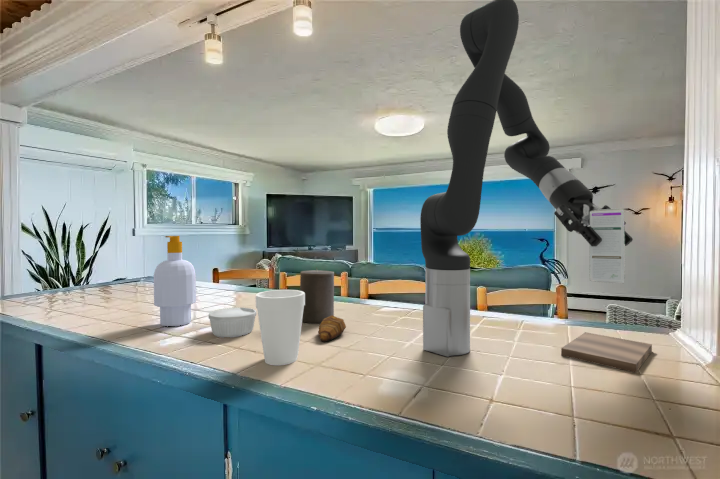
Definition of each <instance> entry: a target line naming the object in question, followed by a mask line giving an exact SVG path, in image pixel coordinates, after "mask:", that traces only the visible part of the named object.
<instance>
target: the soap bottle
mask: <svg viewBox="0 0 720 479" xmlns="http://www.w3.org/2000/svg"><path fill="white" fill-rule="evenodd" d="M164 237H165V238H169V241H167V243H166V245H167V246H166V247H167V252H166V253H167V259H166V260H163V261H161V262H160V263H158V264H157V266H156V268H155V269H154V273H153V305H154V307H158V308H159V323H160V326H162V327H165V326H167V328H169V327H168V326H175V327H180V325H181V326H185V325H188V324H189V323H191V321H192V306H191V305H192V304H195V303H197V283H196V282H197V281H196V278H197V277H196V276H197V274H196V270H195V267H194V264H192V263H191V261H188V260H186V259H183V241H180V240H181V239H180V235H165V236H164Z"/></svg>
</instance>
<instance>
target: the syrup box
mask: <svg viewBox="0 0 720 479" xmlns="http://www.w3.org/2000/svg"><path fill="white" fill-rule="evenodd" d="M624 221H625V211H624V209H622V208H621V209H620V208H611V209H602V210H594V211H590V225H589V226H591V227H592V229H593V230H594V231H595V232H596V233H597V234H598V235H599V236H600V237H601V238H602V241H601V242H600V243H599V244H598V245H597V246H591V245H590V244H589V281H590V282H597V283H606V284H607V283H609V284H624V283H625V278H626V275H625V272H626V270H625V269H626V266H625V264H626V263H625V262H626V261H625V260H626V259H625V258H626V246H625V231H626V230H625V225H624Z"/></svg>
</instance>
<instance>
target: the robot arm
mask: <svg viewBox="0 0 720 479" xmlns="http://www.w3.org/2000/svg"><path fill="white" fill-rule="evenodd" d="M519 15H520V14H519V9H518V6H517V3H516V2H515V0H492V1H490V2H488V3H486V4H483V5H481V6H480V7H478V8H476V9H473V10H472V11H470V12H468V13H466V14H465V15H464V16H463V18H462V19H461V22H460V26H459V34H460V35H459V36H460V39H461V43H462V46H463V48H464V51H465V52H466V55H467V56H468V59H469V60H470V62H471V64H472V66H473V68H474V69H473V70H472V72H471V73H470V75H469V76H468V77H467V79H466V80H465V81H464V83H463V84H462V85H461V87H460V88H459V90H458V92H457V94H456V95H455V97H454V99H453V103H452V106H451V111H450V113H449V114H450V115H449V118H448V124H447V139H448V144H449V149H450V152H451V157H452V168H451V169H452V170H451V173H450V174H451V175H450V178H449V183H448V187H447V189H446V191H445V192H440V193H439V192H438V193H436V194H433V195H430V196H428V197H427V198H426V199H425V200H424V202H423V204H422V206H421V210H420V217H419V220H420V223H419V224H420V241H421V242H420V244H421V252H422V255H423V258H424V261H425V262H424V263H425V265H424V266H425V267H424V268H425V285H424V286H425V289H424V290H425V296H424V297H425V298H424V299H425V300H424V301H425V304H424V305H423V306H422V350H424V351H427V352H430V353H433V354H437V355H440V356H444V357H451V356H461V355H466V354H468V353H469V352H471V258H470V255H469V254H468V253H467V252H466V251H464V250H462V248H461V246H460V245H459V239H458V236H459V237H461V236H462V237H463V236H465V235H468V234H469V233H470V232H471V231H472V230H474V228H475V227H476V224H477V222H478V218H479V214H480V208H481V200H482V193H483V192H482V191H483V180H484V172H485V167H486V163H487V157H488V151H489V146H490V140H491V137H492V133H493V129H494V125H495V120H496V115H497V117H498V119H499V121H500V124H501V125H500V126H501V127H502V130H503V133H504V134H505V136H508V137H516V136H520V135H524V134H526V136H525V137H523V138H521V139H519V140H517V141H515V142H513V143H511V144H510V145H508V146H507V147H506V149H505V151H504V154H503V155H504V160H505V162H506V164H507V165H508V166H509V167H510V168H511V169H512V170H514V171H515V172H517V173H518V174H521V175H522V176H525V177H526V178H528V179H530V180H531V182H533V183H534V184H535V186H536V187H537V188H538V189H539V190H540V192H541V193H542V195H543V196H544V197H545V199H546V200H547V202H549V203H550V204H551V206H552V207H553V208H554V209H555V211H554V213H553V214H554V215H555V217H556V218H557V220H558V221H559V222H560V223H561V224H562V225H563V226H564V227H565V229H566V230H567V231H568V232H569V233H572V232H573V231H574V232H575V233H576V234H578V235H581V236H582V237H583V238H584V240H586V242H587V243H588V244H589V246H590V245H591V246H597V245H598V244H599V243H600V242H601V241H602V238H601V237H600V236H599V235H598V234H597V233H596V232H595V231H594V230H593V229H592V227H591V226H590V211H594V210H602V209H612V208H611V207H610V206H608V205H606V204H605V205H604V206H602V207H599V206H598V205H596V204H595V203H593V199H594V195H593V192H592V191H591V190H590V189H589V188H588V187H587V186H586V185H585V184H584V183H583V181H581V180H580V179H579V178H578V177H577V176H576V175H575V174H573V172H571V171H569V170H568V169H567V168H565V166H564V165H563V164H561V163H560V161H558V159H556V158H555V157H554V156H552V155H549V152H550V148H551V147H550V143H549V141H548V139H547V138H546V136H545V135H544V134H543V133H542V131H541V130H540V128H539V126H538V125H537V123H536V121H535V120H534V118H533V115H532V111H531V108H530V105H529V101H528V99H527V96H526V94H525V91H523V89H522V88H521V87H520V86H519V85H518V84H517V83H516V82H515V81H514V80H513V79H512V78H511V77H509V76H508V75H507V74H506V70H507V66H508V64H509V61H510V57H511V55H512V52H513V49H514V45H515V42H516V39H517V37H518V36H517V35H518V30H519V23H520V22H519V21H520V17H519ZM570 221H571V223H569V222H570ZM626 224H627V223H626V221H625V220H624V226H625V225H626ZM633 241H634V239H633V237H632V236H631V235H630V234H629V233H628V232H627V231H626V230H625V247H626V246H628V245H630V243H632V242H633Z"/></svg>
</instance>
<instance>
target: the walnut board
mask: <svg viewBox="0 0 720 479" xmlns="http://www.w3.org/2000/svg"><path fill="white" fill-rule="evenodd" d="M560 349H561V350H560V352H561V353H560V355H561V357H566V358H567V357H568V358H570V359H574V360H579V361H583V362H588V363H593V364H597V365H601V366H606V367H610V368H615V369H618V370H619V369H620V370H623V371H628V372H632V373H636V374H637V372H638V371H639V369H640V368H641V367H642V365H643V364H644V363H645V361H646V360H647V359H648V358H649V356H650V354H652V351H653V344H652V343H646V342H642V341H637V340H631V339H624V338H621V337H620V338H619V337H614V336H609V335H603V334H602V335H601V334H596V333H591V332H585V331H584V332H583V333H582V334H580V335H579V336H577V337H576V338H574V339H573V340H571V341H570V342H568V343H566V344H565V345H564V346H562V347H561V348H560Z"/></svg>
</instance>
